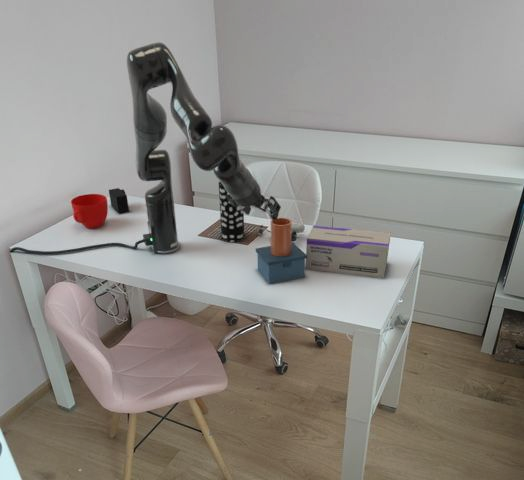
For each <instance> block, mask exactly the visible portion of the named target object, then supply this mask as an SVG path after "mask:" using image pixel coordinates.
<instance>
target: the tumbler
mask: <svg viewBox="0 0 524 480" xmlns="http://www.w3.org/2000/svg"><path fill="white" fill-rule="evenodd" d="M292 223H293V221H292V220H291V219H290V218H287V217H277V219H276V220H272V219H271V220H270V231H271V233H270V246H271V254H273V255H275V256H287V255H289V254H290V253H291V229H292Z"/></svg>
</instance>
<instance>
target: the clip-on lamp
mask: <svg viewBox="0 0 524 480" xmlns="http://www.w3.org/2000/svg"><path fill="white" fill-rule="evenodd" d="M305 229H306V226H305V224H304V223H302V222H295V223H294V222H292V229H291V242H293V243H295V242H296V241H297V238H298V239H300V238H301V237H300V236H299V235H298V234H302V233H304V232H305ZM255 231H256V234H257V235H258V236H261V235H263V231H266V232H267V233H268V232H269V233H270V234H271V230H269V229H266V228H264V224H260V225H259V227H257V228H256V229H255Z"/></svg>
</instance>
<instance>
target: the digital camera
mask: <svg viewBox="0 0 524 480" xmlns="http://www.w3.org/2000/svg"><path fill="white" fill-rule="evenodd" d="M108 195H109V199H110V200H109V202H110V205H111V207H112V209H114V211H116V212H117V213H118V214H119V215H120V214H121V215H122V214H125V213H129V212H130V208H129V202H128V195H127V194H126V191H125V189H124V188H123V189H120V188H119V187H117V188H111V189H108Z"/></svg>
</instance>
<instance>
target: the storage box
mask: <svg viewBox="0 0 524 480" xmlns="http://www.w3.org/2000/svg"><path fill="white" fill-rule="evenodd" d="M254 250H255V253H256V254H257V271H258V272H259V274H260V275H261V276H262V277H263V278H264V280H266V282H267V283H268V284H274V283H280V282H284V281H285V282H286V281H291V280H295V279H296V280H297V279H300V278H305V270H306V259H307V255H306V252H304V251H303V250H302V249H301V248H300V247H299V246H297V244H296V243H295V242H291V253H290V254H289V255H287V256H275V255H273V254H271V245H268V246H262V247H256V248H255V249H254Z"/></svg>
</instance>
